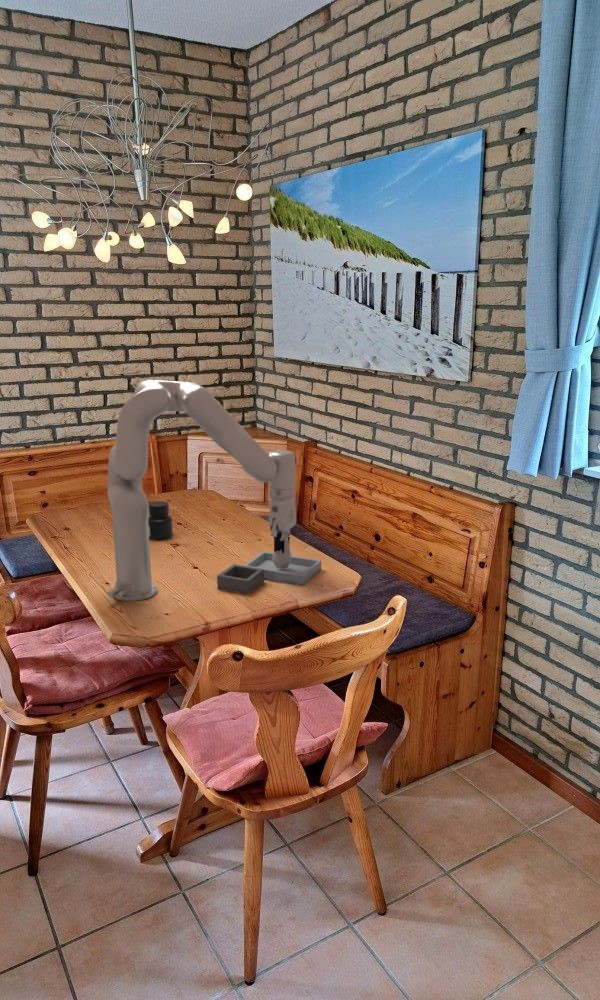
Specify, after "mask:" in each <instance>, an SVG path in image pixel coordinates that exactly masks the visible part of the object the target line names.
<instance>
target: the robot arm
mask: <svg viewBox="0 0 600 1000" xmlns="http://www.w3.org/2000/svg"><path fill="white" fill-rule="evenodd" d="M166 412H185V413H186V414H187V416H189V417H190V419H191V420H193V422H195V424H196V425H198V426H199V427H200V429H201V430H202V431H203V432H204V433H205V434H206V435H208V437H209V438H210V439H211V440H212V441H213V442H214V443H215V444H216V445H217V446H219V448H221V449H223V451H225V452H227V453H228V454H229V455H230V456H231V457H233V458H234V459H235V460H236V461H237V463H239V464H240V466H241V468H242V470H243V471H244V473H246V474H247V475H249V476H250V477H252V478H253V479H254V480H255V481H257V482H259V483H264V484H265V483H268V482H269V498H270V504H269V517H268V518H269V519H268V521H269V522H268V523H269V525H268V526H269V529H270V531H271V533H270V537H273V553H274V552H276V551H280V550H282V553H284V540H283V536H284V532H286V531H288V530H289V533H288V534H287V535H288V541H289V547H290V546H291V545H290V544H291V543H290V537H291V529H292V528H293V527H294V526H295V525H296V524H297V509H296V506H297V505H296V497H295V496H296V494H295V493H296V492H295V491H296V486H295V485H296V456H295V453H294V452H293V451H291V450H287V449H277V450H274V451H269V450H265V449H264V448H262V446H261V445H260V444H259V443H258V442H257V441H256V440H255V439H254V438H253V437H252V436H251V435H250V434H249V433H248V431H246V430H245V429H244V427H243V425H241V423H239V421H237V420H236V419H235V418H234V417H233V416H232V414H230V412H229V411H228V410H227V409H226V408H225V407H224V406H223V405H222V404H221V403H220V402H219V401H218V400H217V398H215V397H214V396H213V395H212V393H211V392H210V391H209V390H208V389H206V387H204V386H203V385H200V384H198V383H196V382H191V381H172V380H169V381H168V380H159V379H157V380H155V379H147V380H144V381H141V382H140V383H138V385H137V386H136V387H135V389H134V392H133V395H132V396H131V397H130V398H129V399H128V400H127V401H126V402H125V403H124V404H123V406H122V407H121V409H120V411H119V413H118V414H119V415H118V418H117V424H116V434H115V435H116V436H115V444H113V446H112V447H111V449H110V451H109V456H108V463H107V464H108V469H107V471H108V472H107V497H108V501H109V503H110V506H111V510H112V511H111V512H112V524H113V525H112V530H113V531H112V532H113V533H112V534H113V546H114V558H115V559H114V561H115V572H116V573H115V574H116V575H115V576H116V581H115V582H114V583H115V585H114V587H113V588H112V589H110V590H109V591H107V596H108V598H109V599H111V598H114V599H116V600H120V601H125V602H126V601H127V602H135V601H136V602H137V601H142V600H143V601H144V600H146V599H149V598H151V597H153V596H155V595H156V594H157V592H158V586H157V584H156V583H154V582H153V581H152V569H151V568H152V567H151V566H152V565H151V552H150V551H151V549H150V548H151V547H150V539H149V529H148V518H149V516H150V515H149V501H148V500H149V499H148V498H147V497H148V496H147V495H146V492H145V491H144V489H143V487H142V486H143V485H142V484H143V477H144V475H145V474H146V472H147V470H148V466H149V439H150V429H151V426H152V424H153V422H154V421H155V419H156V418H157V417H159V416H161V415H163V414H164V413H166ZM277 529H279V530H277ZM278 533H280V534H278ZM290 548H291V547H290Z"/></svg>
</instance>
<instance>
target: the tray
mask: <svg viewBox="0 0 600 1000" xmlns="http://www.w3.org/2000/svg"><path fill="white" fill-rule="evenodd" d="M273 553H274V552H269V551H264V550H263V551H261V552H260V553H258V554H257V555H255V557H253V558H251V559H250V560H249V561H247V563H245V564H243V565H242V566H248V567H254V568H259V569H264V580H269V581H274V582H279V581H280V583H284V584H290V583H291V584H292V585H296V584H298V585H297V586H302V585H303V586H302V587H304V586H305V585H306V584H307V583H309V581H311V580H312V579H313V578H314V577H316V576H317V574H318V573H320V572H321V570H322V560H321V559H314V558H307V557H300V556H296V555H291V562H290V564H289V566H288V567H287V568H283V569H280V568H276V567H275V564H274V562H273V561H272V558H273ZM310 579H311V580H310Z"/></svg>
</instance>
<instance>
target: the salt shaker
mask: <svg viewBox="0 0 600 1000" xmlns="http://www.w3.org/2000/svg"><path fill="white" fill-rule="evenodd" d="M277 530H279V529H277ZM288 533H289V530H288V531H286V532H284V536H283V540H284V553H282V550H280V551H276V552H274V551H273V552H272V553H273V558H272V561H273V562H274V564H275V567H276V568H280V569H283V568H287V567H288V566H289V564H290V562H291V556H292V554H291V547H289V541H288V537H289V536H288V535H287V534H288ZM278 534H280V533H278Z"/></svg>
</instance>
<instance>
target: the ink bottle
mask: <svg viewBox="0 0 600 1000" xmlns="http://www.w3.org/2000/svg"><path fill="white" fill-rule="evenodd" d="M148 505H149V518H148V529H149V540H152V541H153V540H155V541H165V540H168V539H170V538H172V537H173V535H174V530H173V525H174V524H173V518H172V516H171V515H169V514H170V507H169V502H167V501H163V500H155V501H151V502H148Z"/></svg>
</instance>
